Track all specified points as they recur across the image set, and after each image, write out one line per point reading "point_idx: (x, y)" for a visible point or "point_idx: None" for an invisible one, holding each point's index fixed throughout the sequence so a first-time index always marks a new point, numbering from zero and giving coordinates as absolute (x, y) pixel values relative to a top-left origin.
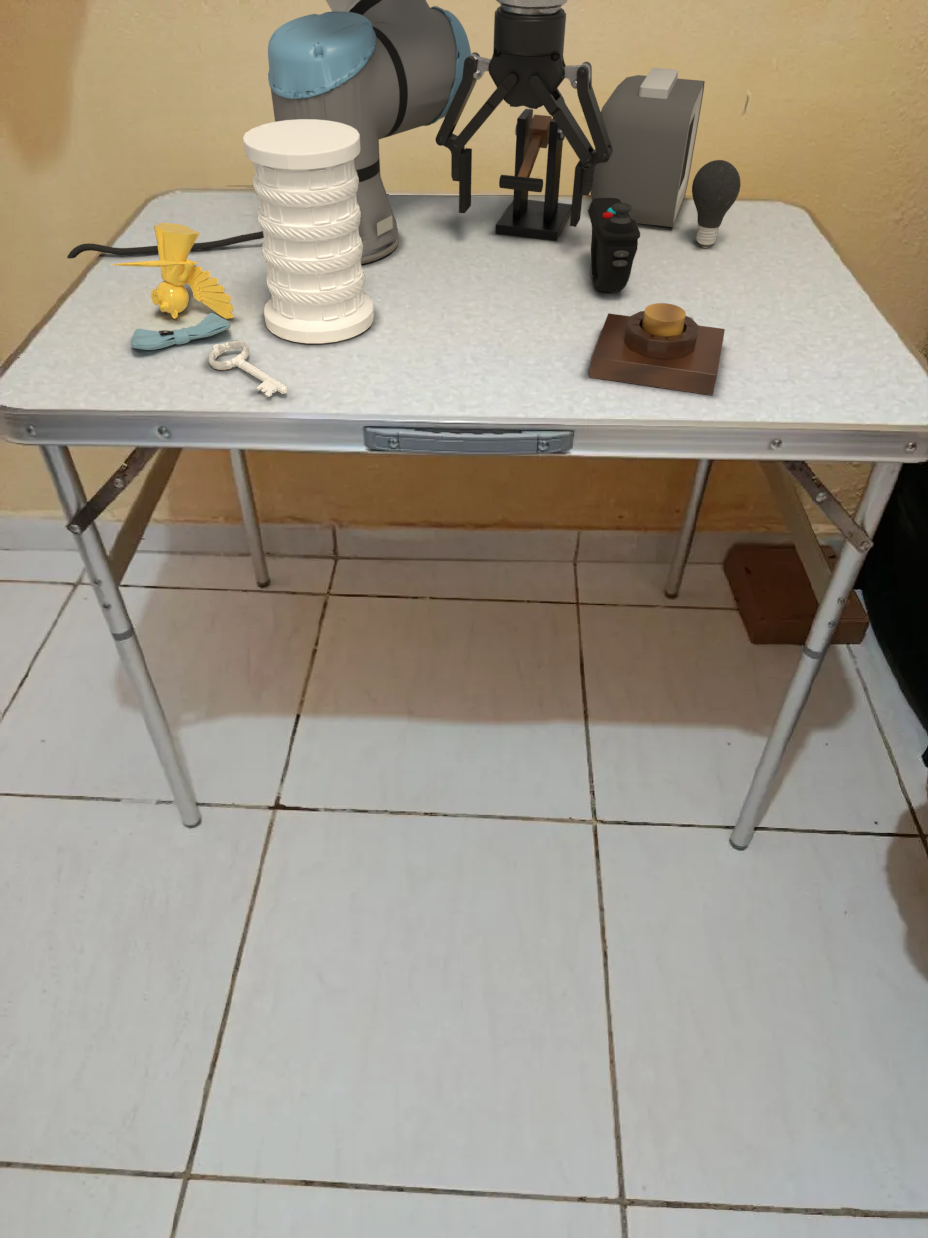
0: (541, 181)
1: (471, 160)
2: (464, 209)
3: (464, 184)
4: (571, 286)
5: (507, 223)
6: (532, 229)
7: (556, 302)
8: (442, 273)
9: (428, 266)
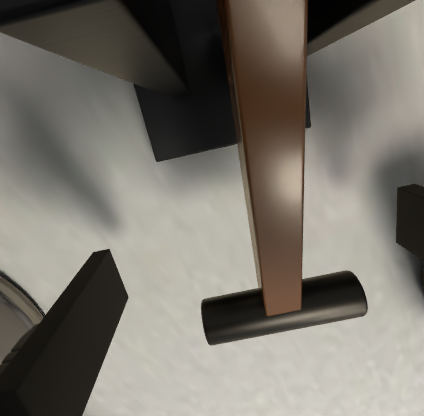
0: (365, 313)
1: (49, 347)
2: (125, 303)
3: (103, 357)
4: (382, 297)
5: (178, 142)
6: None
7: (371, 348)
8: (172, 349)
9: (138, 340)
